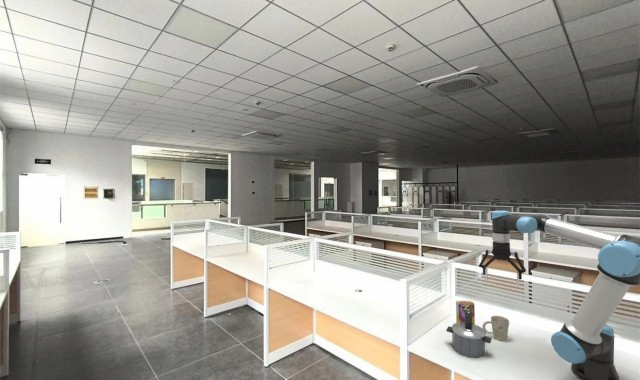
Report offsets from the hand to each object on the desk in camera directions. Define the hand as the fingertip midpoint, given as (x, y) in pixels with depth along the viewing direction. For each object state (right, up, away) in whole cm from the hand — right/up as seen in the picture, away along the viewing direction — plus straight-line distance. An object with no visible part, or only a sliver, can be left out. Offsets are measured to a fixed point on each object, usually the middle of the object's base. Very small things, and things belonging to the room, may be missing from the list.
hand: (501, 283), depth 151 cm
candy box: (-9, -32, +19) cm, 38 cm away
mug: (+2, -32, +9) cm, 33 cm away
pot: (-18, -32, -2) cm, 37 cm away
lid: (-18, -23, -3) cm, 29 cm away
